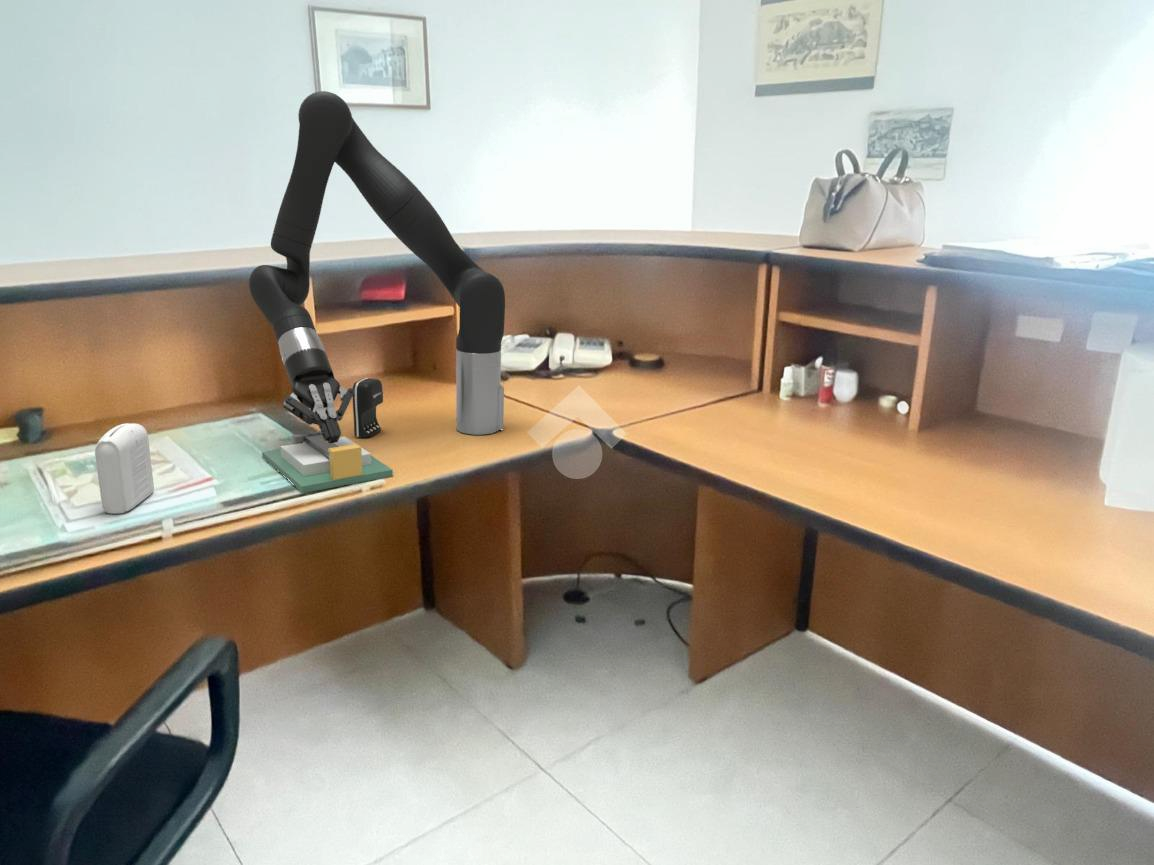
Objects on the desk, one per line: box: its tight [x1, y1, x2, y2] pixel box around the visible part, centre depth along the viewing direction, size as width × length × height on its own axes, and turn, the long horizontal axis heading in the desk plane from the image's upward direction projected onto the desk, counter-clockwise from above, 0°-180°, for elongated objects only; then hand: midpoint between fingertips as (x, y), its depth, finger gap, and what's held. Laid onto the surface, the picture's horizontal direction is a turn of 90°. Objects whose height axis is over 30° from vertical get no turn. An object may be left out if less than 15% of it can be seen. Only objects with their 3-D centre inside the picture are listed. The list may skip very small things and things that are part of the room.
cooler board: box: [261, 430, 394, 494], centre depth 143 cm, size 21×16×6 cm
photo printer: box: [94, 423, 155, 515], centre depth 123 cm, size 10×4×12 cm, turn 3°
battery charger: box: [352, 377, 384, 438], centre depth 162 cm, size 7×4×11 cm, turn 167°
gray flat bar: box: [301, 431, 339, 457], centre depth 143 cm, size 16×3×1 cm, turn 38°
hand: (334, 440), depth 139 cm, fingers closed
